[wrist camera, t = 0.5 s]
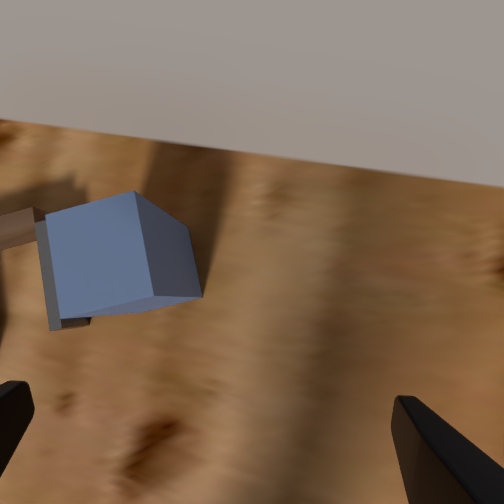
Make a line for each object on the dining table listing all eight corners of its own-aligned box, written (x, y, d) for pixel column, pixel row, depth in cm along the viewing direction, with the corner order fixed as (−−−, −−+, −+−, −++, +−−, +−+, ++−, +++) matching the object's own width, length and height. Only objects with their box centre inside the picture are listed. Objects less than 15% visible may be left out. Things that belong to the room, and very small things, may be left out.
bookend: (113, 319, 25) (89, 321, 22) (78, 327, 25) (49, 331, 22) (97, 222, 26) (71, 212, 23) (64, 231, 26) (34, 223, 23)
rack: (81, 342, 25) (52, 347, 22) (-20, 366, 26) (-61, 374, 23) (61, 217, 26) (32, 206, 23) (-33, 243, 27) (-74, 236, 24)
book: (202, 297, 24) (153, 295, 16) (140, 312, 25) (60, 319, 16) (187, 226, 25) (133, 189, 17) (127, 242, 25) (45, 213, 17)
